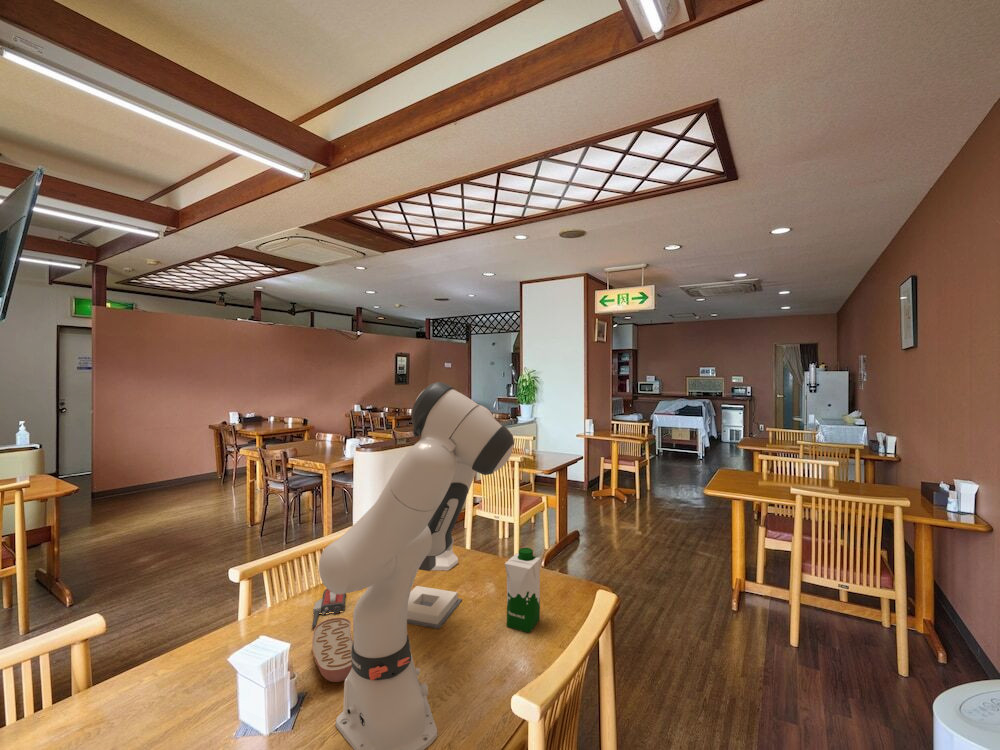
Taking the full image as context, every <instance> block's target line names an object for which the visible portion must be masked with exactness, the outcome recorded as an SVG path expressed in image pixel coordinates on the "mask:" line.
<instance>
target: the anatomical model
mask: <svg viewBox="0 0 1000 750" xmlns="http://www.w3.org/2000/svg"><path fill="white" fill-rule="evenodd" d="M313 629H314V630H313V633H312V652H313V657H314V658H313V659H314V661H315V663H316V666H317V668H318V670H319V671H320V672H319V673H320V674H321V675H322V676H323V678H324V679H325V680H327V681H329V682H332V683H340V682H343V681H345V679H346V677H347V676H348V674H349V673H350V671H351V669H352V664H351V651H352V644H353V635H352V622H351V621H350V619H348V618H345V617H331V618H328V619H325V620H323V621H321V622H319V623H318V624H316V627H315V628H313Z"/></svg>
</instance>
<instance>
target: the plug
mask: <svg viewBox="0 0 1000 750" xmlns="http://www.w3.org/2000/svg"><path fill="white" fill-rule="evenodd" d="M435 566H436V556H434V557H427V556H426V558H425V559H424V560H423V562H422V564H421V565H420V567H419V569H418V571H419V570H420V571H425V572H430V571H432V570H431V569H432V568H434V567H435Z"/></svg>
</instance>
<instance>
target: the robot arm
mask: <svg viewBox="0 0 1000 750" xmlns="http://www.w3.org/2000/svg"><path fill="white" fill-rule="evenodd" d="M411 423H412V426H413V428H412V434H413V436H414V438H418V437H419V436H420V438H419V440H418V441H417V442H416V443H414V445H413V446H412V447H411V448H410V449H409V450H408V451H407V452H406V454H404V456H403V457H402V459H401V460H400V462H399V463H398V464H397V466H396V467H395V469H394V471H393V472H392V474H391V476H390V478H389V480H387V481H388V482H387V483H386V485H384V486H385V487H384V489H383V490H382V491H381V494H380V495H379V497H378V498H377V500H376V501H375V502H374V504H373V505H372V506H371V507H370V508H369V509H368V511H366V512H365V513H364V514H363V515H362V517H361V518H360V519H359V520H357V521H356V522H355V523H354V524H353V525H352V526H351V527H350V528H349V529H348V530H347V531H346V532H345V533H344V534H342V535H341V536H340V537H339V538H337V539H335V540H334V541H333V542H331V543H330V544H328V545H327V546H325V548H324V549H323V550H322V553H321V555H320V558H319V562H318V563H319V564H318V573H319V574H318V575H319V578H320V580H321V582H322V584H323V585H324V587H325V588H326V589H328V590H330V591H331V592H332V593H334V594H337V595H340V594H345V593H346V594H349V593H354V592H359V591H362V590H364V589H366V590H365V591H364V592H363V594H362V595H361V596H360V597H359V598H358V600H357V602H356V604H355V606H354V609H353V614H352V620H353V621H352V624H353V627H352V633H353V634H352V639H353V644H352V651H351V664H352V669H351V671H350V673H349V674H348V676H347V677H346V679H345V680H344V683H343V687H344V688H343V706H342V707H343V710H342V711H341V712H340V714H339V715H338V716H337V718H336V719H335V727H336V728H337V730H338V731H339V732H340V734H341V735H342V736H343V738H344V739H345V740H346V741H347V743H349V746H351V748H352V749H353V750H426V749H427V748H428V747H429V746H430V745H432V743H433V742H434V741H435V740H436V739H437V737H438V728H437V725H436V723H435V719H434V717H433V714H432V710H431V706H430V704H429V701H428V695H429V689H428V684H427V683H426V682H424V683H420V681H419V678H418V676H420V674H421V673H420V672H421V671H420V667H415V663H414V659H413V658H414V656H413V655H412V649H411V648H412V647H411V642H410V638H409V635H408V623H407V609H408V600H409V596H410V592H411V591H412V588H413V584H414V582H415V579H416V576H417V574H418V572H419V567H420V565H421V564H422V562H423V560H424V559H425V558H426V556H427V557H434V556H438V555H440V554H442V553H444V552H445V551H450V550H451V549H453V547H454V546H453V545H454V542H455V539H454V537H453V534H452V532H453V529H454V527H455V525H456V523H457V520H458V518H459V516H460V514H461V511H462V510H463V507H464V505H465V502H466V499H467V496H468V494H469V492H470V489H471V485H472V483H473V481H474V478H475V476H476V474H477V473H478V474H481V475H484V476H489V475H493V474H494V472H497V471H499V470H500V469H501V468H503V467H504V466H505V465H506V464H507V463H508V461H509V460H510V459H511V458H510V457H511V456H512V453H513V448H514V445H515V440H514V435H513V434H512V433H511V431H510V430H509V429H508V428H507V427H506V426H505V425H502V424H500V423H499V422H498V420H496V419H495V417H494V415H493V414H492V412H491V411H490V410H489V409H488V408H487V407H485V406H483V405H480V404H478V403H477V402H476V401H474V400H472V399H471V398H469V397H468V396H466V395H465V394H463V393H461V392H459V391H457V390H455V388H454V386H451V385H450V384H447V383H445V382H441V381H436V382H433V383H431V384H430V385H428V386H427V387H425V388H424V389H423V390H422V391H421V392H420V393H419V395H418V396H417V397H416V399H415V401H414V403H413V406H412V409H411Z"/></svg>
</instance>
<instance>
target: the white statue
mask: <svg viewBox="0 0 1000 750" xmlns="http://www.w3.org/2000/svg"><path fill="white" fill-rule="evenodd" d="M453 550H454V549H453V548H452V549H451V550H450V551H445V552H444V553H442V554H440V555H438V556H436V566H435V567H434V568H432V569H431V570H430V571H442V570H444V571H447V572H448V571H450V570H451V569H452V568H453V567H455V566H456V565H457V564H459V558H458V556H457V555H456V554H455V553H454V551H453Z"/></svg>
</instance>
